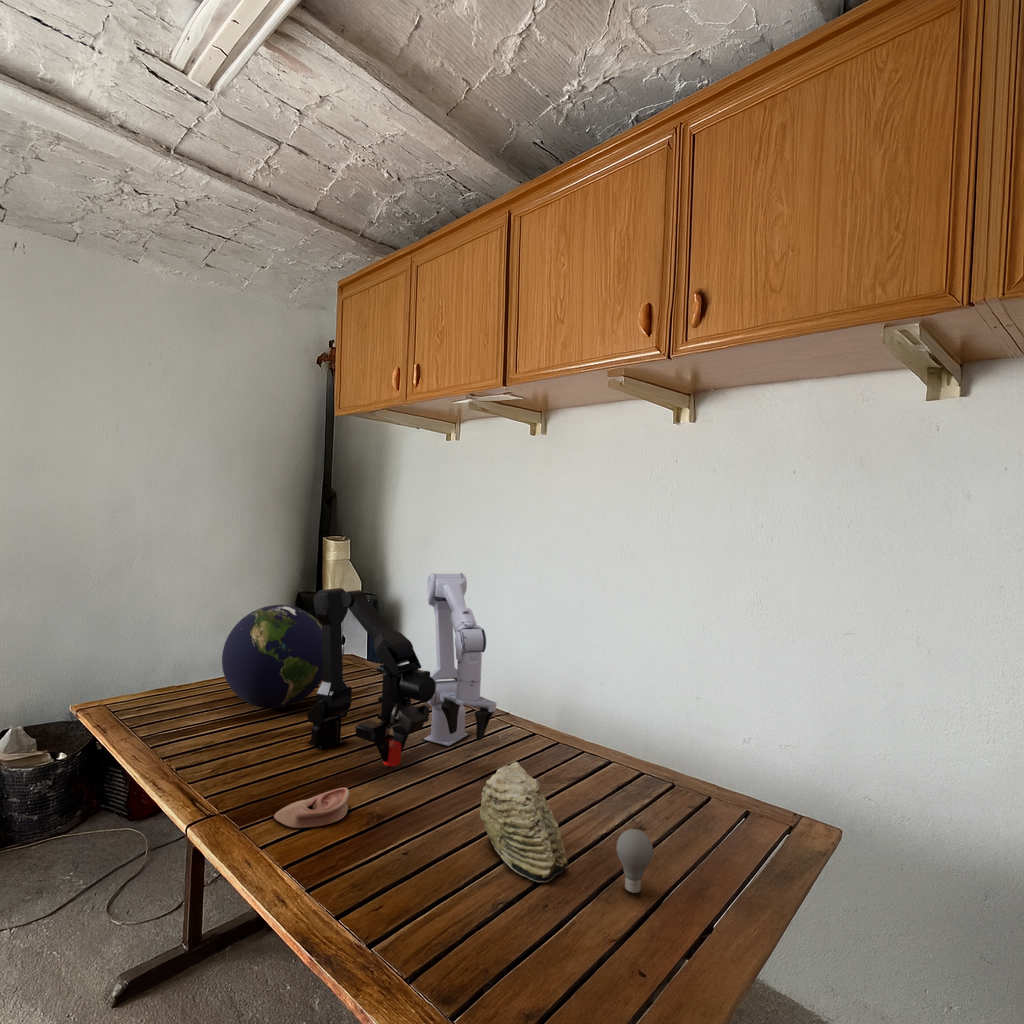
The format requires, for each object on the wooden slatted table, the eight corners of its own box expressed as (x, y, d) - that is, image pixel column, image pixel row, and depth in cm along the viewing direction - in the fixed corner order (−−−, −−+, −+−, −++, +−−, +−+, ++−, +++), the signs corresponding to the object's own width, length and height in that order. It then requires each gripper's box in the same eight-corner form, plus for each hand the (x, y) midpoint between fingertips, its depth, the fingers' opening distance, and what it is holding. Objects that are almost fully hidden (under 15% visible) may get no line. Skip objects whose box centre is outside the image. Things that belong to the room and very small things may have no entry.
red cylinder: (399, 766, 147) (399, 747, 147) (381, 766, 147) (382, 747, 147) (401, 759, 151) (402, 741, 151) (385, 758, 151) (385, 740, 151)
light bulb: (610, 879, 108) (613, 822, 108) (644, 879, 109) (647, 822, 109) (619, 902, 102) (622, 840, 102) (655, 901, 103) (658, 840, 103)
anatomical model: (265, 803, 122) (297, 778, 133) (264, 823, 122) (296, 796, 133) (329, 813, 119) (356, 786, 130) (328, 833, 119) (355, 805, 130)
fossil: (501, 827, 124) (504, 751, 124) (575, 868, 111) (578, 784, 111) (467, 843, 118) (470, 763, 118) (541, 889, 105) (545, 799, 105)
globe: (289, 685, 209) (292, 594, 208) (348, 705, 191) (352, 606, 191) (199, 706, 185) (203, 604, 184) (258, 732, 167) (262, 619, 167)
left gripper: (390, 710, 137) (387, 782, 137) (446, 691, 152) (443, 755, 153) (355, 699, 143) (352, 767, 143) (412, 681, 159) (409, 743, 159)
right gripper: (434, 677, 151) (431, 734, 151) (486, 688, 144) (484, 747, 144) (450, 671, 157) (448, 725, 157) (501, 681, 150) (499, 738, 150)
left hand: (391, 758), depth 149 cm, fingers closed on red cylinder, 4 cm apart
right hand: (466, 735), depth 151 cm, fingers open, 7 cm apart
